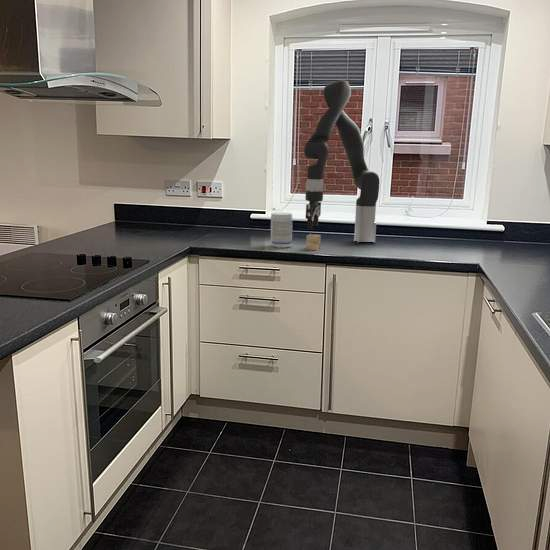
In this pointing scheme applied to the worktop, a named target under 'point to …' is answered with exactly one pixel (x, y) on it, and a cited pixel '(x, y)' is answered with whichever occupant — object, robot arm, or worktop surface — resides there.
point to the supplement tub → (281, 230)
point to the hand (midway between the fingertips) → (312, 227)
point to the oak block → (313, 242)
